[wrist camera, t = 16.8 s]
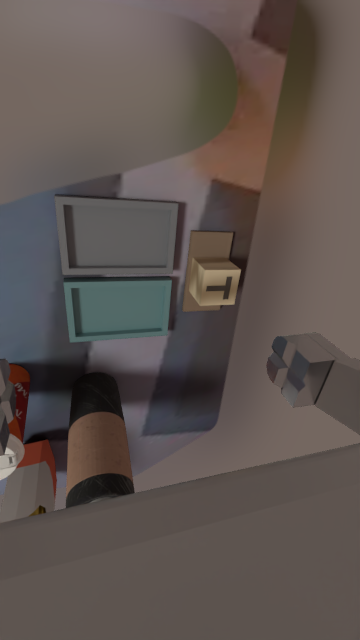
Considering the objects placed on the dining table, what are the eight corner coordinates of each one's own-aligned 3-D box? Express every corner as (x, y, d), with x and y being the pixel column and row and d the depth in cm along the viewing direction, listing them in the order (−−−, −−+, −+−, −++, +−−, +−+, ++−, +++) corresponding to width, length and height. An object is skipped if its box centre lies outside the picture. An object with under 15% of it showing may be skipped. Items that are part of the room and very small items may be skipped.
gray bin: (55, 194, 33) (54, 196, 32) (175, 201, 37) (178, 203, 36) (63, 270, 37) (62, 274, 36) (169, 269, 41) (172, 273, 40)
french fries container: (46, 428, 50) (31, 549, 35) (59, 467, 55) (51, 586, 40) (16, 434, 48) (-13, 562, 34) (33, 473, 54) (14, 598, 39)
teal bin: (64, 277, 38) (63, 282, 37) (169, 276, 42) (171, 280, 41) (70, 336, 42) (69, 342, 41) (164, 330, 46) (167, 335, 45)
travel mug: (85, 364, 45) (87, 489, 29) (127, 379, 49) (150, 498, 33) (61, 398, 47) (50, 534, 31) (103, 411, 51) (114, 538, 35)
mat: (190, 230, 39) (192, 231, 39) (231, 231, 41) (233, 232, 41) (182, 309, 45) (183, 311, 45) (218, 308, 47) (219, 309, 46)
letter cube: (192, 257, 41) (205, 270, 37) (225, 257, 42) (241, 270, 38) (188, 290, 43) (200, 306, 39) (220, 289, 45) (234, 304, 40)
